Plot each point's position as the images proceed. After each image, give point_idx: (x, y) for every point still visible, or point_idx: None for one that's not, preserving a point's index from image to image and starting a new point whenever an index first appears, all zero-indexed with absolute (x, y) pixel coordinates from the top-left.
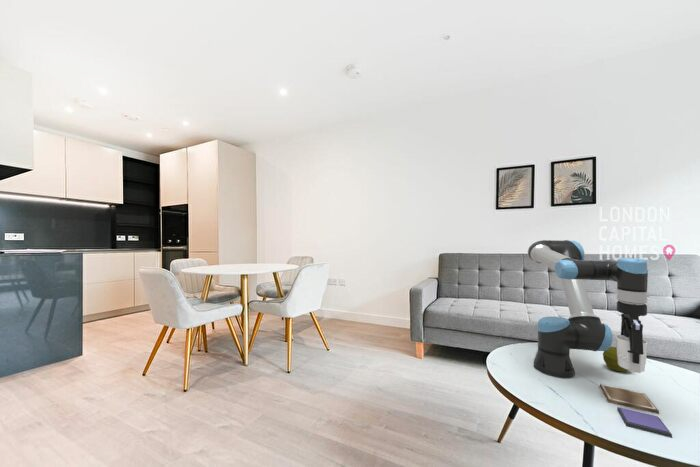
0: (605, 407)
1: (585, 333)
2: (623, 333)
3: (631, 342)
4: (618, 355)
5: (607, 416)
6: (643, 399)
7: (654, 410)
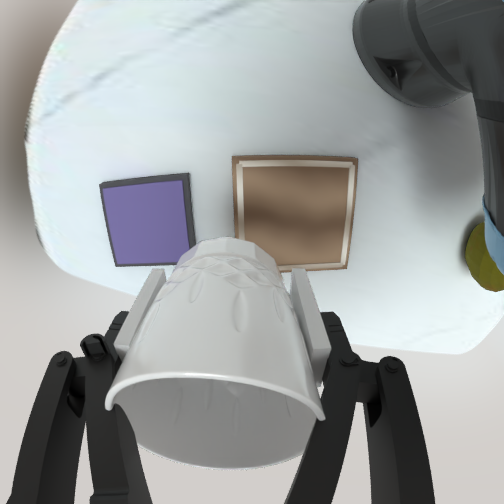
0: (185, 143)
1: None
2: (331, 434)
3: (87, 413)
4: (204, 267)
5: (126, 143)
6: (297, 256)
7: None
